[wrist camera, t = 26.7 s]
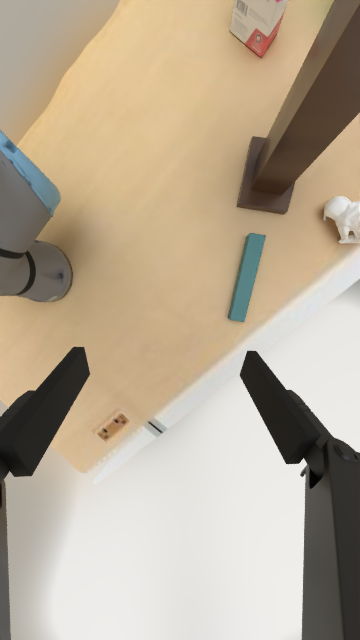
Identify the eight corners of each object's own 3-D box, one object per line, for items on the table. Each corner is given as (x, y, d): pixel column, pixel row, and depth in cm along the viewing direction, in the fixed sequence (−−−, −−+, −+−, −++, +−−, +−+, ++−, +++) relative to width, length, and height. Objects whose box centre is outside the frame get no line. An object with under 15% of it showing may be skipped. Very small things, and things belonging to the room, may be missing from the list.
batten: (241, 320, 42) (244, 322, 40) (227, 317, 43) (230, 319, 40) (261, 239, 39) (265, 235, 37) (246, 236, 39) (250, 232, 37)
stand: (282, 219, 38) (602, -37, 9) (235, 211, 38) (386, -60, 9) (301, 144, 36) (853, -587, 6) (251, 137, 36) (537, -591, 6)
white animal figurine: (390, 239, 30) (336, 199, 30) (349, 253, 38) (307, 221, 39) (420, 208, 29) (364, 167, 29) (371, 229, 37) (328, 198, 38)
